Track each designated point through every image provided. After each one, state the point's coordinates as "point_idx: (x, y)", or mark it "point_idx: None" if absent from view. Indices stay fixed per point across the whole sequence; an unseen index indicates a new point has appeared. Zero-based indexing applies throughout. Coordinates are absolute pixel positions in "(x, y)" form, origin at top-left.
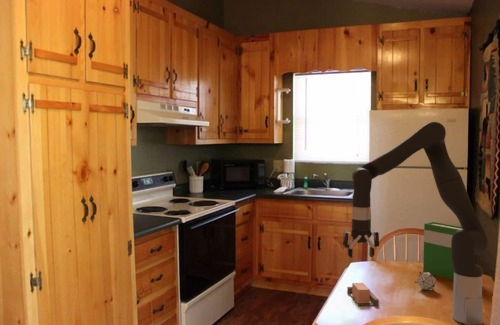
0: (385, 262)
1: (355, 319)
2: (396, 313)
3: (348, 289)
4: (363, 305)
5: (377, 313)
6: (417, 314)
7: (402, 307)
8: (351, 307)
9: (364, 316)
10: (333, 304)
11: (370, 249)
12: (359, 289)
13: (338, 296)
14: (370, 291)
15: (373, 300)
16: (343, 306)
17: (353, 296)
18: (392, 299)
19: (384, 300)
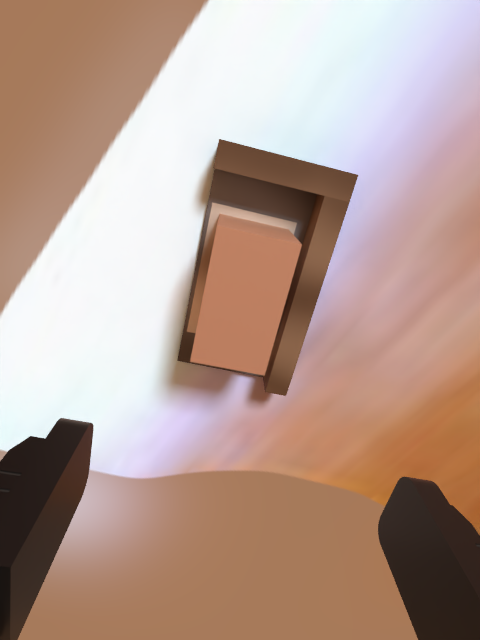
0: None
1: (95, 463)
2: (302, 461)
3: (214, 167)
4: (202, 364)
5: (222, 441)
6: (378, 488)
7: (376, 421)
8: (134, 356)
9: (148, 450)
10: (51, 295)
11: (446, 629)
12: (198, 356)
13: (128, 191)
14: (323, 276)
15: (270, 364)
16: (97, 334)
17: (212, 242)
18: (408, 330)
19: (358, 329)
